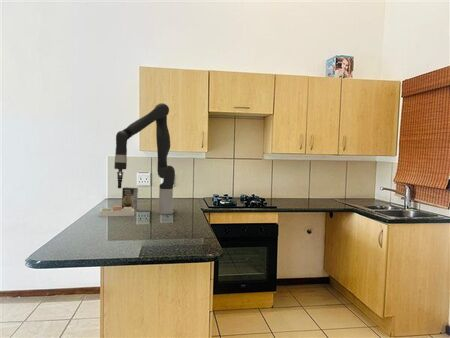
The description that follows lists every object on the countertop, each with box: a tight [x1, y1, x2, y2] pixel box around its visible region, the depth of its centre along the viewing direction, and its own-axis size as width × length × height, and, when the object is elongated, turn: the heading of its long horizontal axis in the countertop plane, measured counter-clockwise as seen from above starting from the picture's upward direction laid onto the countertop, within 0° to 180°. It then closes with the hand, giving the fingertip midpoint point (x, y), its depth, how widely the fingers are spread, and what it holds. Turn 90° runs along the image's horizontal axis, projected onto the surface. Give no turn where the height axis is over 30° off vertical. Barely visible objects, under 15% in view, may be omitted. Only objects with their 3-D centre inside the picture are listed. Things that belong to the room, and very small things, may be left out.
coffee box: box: [121, 187, 139, 212], centre depth 227 cm, size 9×6×16 cm
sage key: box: [101, 206, 112, 211], centre depth 205 cm, size 5×5×3 cm
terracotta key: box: [112, 205, 122, 211], centre depth 207 cm, size 5×5×3 cm
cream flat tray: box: [99, 208, 135, 218], centre depth 207 cm, size 21×8×4 cm, turn 109°
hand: (119, 188), depth 207 cm, fingers closed
